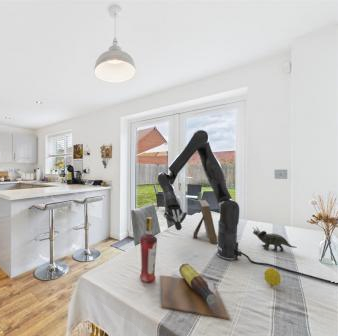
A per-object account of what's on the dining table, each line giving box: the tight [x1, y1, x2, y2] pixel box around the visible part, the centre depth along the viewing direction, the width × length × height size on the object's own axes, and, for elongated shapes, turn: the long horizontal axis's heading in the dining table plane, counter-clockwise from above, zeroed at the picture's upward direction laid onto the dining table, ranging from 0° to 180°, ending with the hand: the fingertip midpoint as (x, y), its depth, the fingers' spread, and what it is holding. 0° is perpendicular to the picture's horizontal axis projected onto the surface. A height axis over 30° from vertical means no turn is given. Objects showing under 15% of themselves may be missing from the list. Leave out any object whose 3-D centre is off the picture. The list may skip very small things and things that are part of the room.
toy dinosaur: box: [252, 226, 298, 252], centre depth 122 cm, size 22×8×11 cm, turn 47°
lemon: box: [263, 267, 282, 287], centre depth 85 cm, size 6×6×8 cm
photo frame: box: [192, 199, 218, 244], centre depth 141 cm, size 15×22×25 cm
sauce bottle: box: [178, 263, 217, 305], centre depth 80 cm, size 6×6×20 cm
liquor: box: [139, 216, 158, 284], centre depth 87 cm, size 7×7×28 cm
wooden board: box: [160, 275, 230, 320], centre depth 78 cm, size 22×20×1 cm
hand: (179, 229), depth 100 cm, fingers closed
